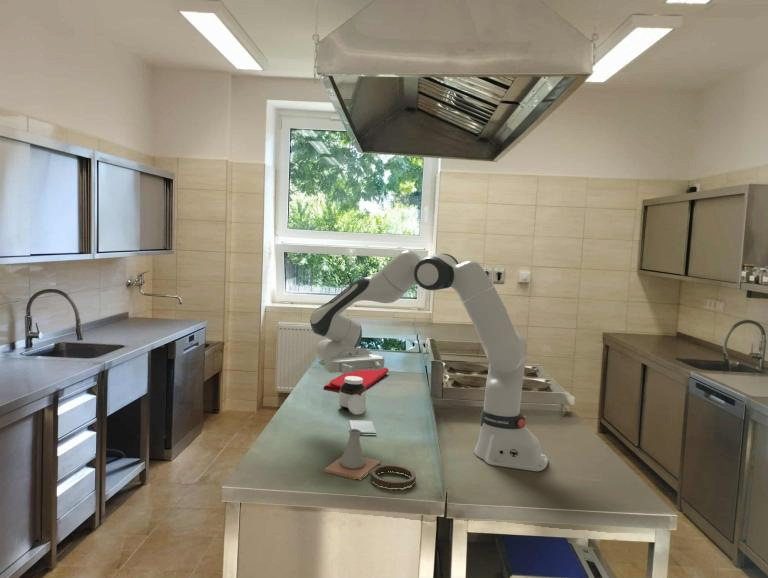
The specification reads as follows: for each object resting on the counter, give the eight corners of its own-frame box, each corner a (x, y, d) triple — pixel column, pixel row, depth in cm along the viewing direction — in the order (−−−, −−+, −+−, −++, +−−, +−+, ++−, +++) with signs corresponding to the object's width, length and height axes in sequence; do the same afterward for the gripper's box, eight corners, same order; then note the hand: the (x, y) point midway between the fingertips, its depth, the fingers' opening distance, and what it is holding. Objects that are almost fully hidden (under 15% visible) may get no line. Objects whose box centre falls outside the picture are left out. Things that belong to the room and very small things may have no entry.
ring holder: (420, 477, 172) (421, 470, 171) (405, 493, 161) (406, 486, 160) (381, 468, 176) (381, 461, 176) (363, 483, 165) (364, 476, 165)
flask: (370, 465, 175) (373, 431, 174) (352, 472, 170) (355, 436, 169) (351, 457, 180) (354, 424, 179) (334, 464, 175) (336, 429, 174)
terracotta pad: (380, 463, 179) (380, 461, 179) (360, 480, 166) (360, 477, 166) (346, 455, 184) (346, 453, 183) (324, 471, 171) (324, 468, 171)
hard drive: (376, 432, 203) (372, 420, 215) (352, 432, 202) (349, 419, 214) (376, 437, 203) (372, 424, 215) (351, 436, 202) (348, 424, 214)
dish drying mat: (322, 390, 255) (322, 381, 254) (357, 370, 293) (358, 362, 293) (357, 396, 250) (358, 387, 249) (389, 375, 288) (389, 367, 288)
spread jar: (351, 403, 237) (354, 374, 236) (375, 410, 230) (377, 380, 229) (331, 410, 227) (333, 379, 226) (355, 417, 221) (357, 385, 219)
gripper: (316, 351, 197) (336, 360, 185) (371, 348, 207) (394, 357, 196) (315, 371, 197) (335, 381, 186) (370, 366, 208) (392, 376, 196)
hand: (366, 368), depth 191 cm, fingers open, 8 cm apart
